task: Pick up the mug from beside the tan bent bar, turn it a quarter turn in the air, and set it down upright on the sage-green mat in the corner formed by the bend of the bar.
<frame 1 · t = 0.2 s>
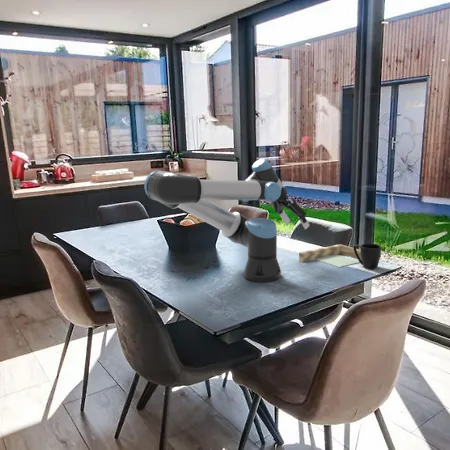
hand: (297, 224, 200), 16 cm above the table, tool tilted 35°, fingers open, 13 cm apart
tan bent bar: (334, 259, 197), on the table
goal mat: (337, 260, 195), on the table
mug: (366, 266, 186), on the table
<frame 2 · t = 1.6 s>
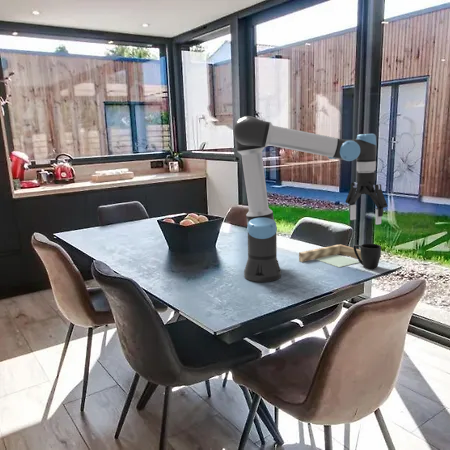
hand: (365, 221, 183), 19 cm above the table, tool pointing down, fingers open, 13 cm apart
nothing on the table moved.
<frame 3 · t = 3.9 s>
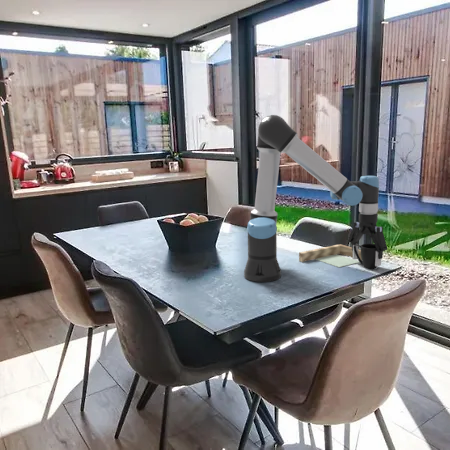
hand: (366, 262, 186), 2 cm above the table, tool pointing down, fingers closed on mug, 12 cm apart
mug: (366, 266, 186), on the table, touching gripper
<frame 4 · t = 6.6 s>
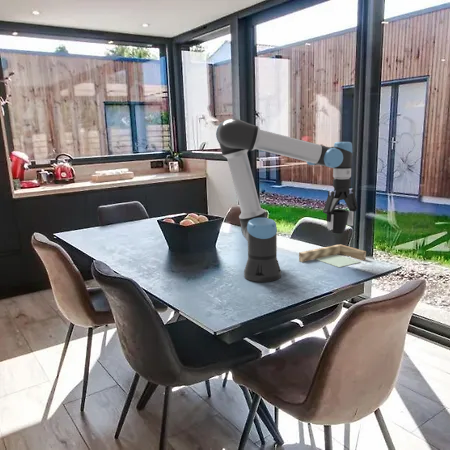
hand: (340, 227, 191), 16 cm above the table, tool pointing down, fingers closed on mug, 12 cm apart
mug: (340, 231, 191), point 14 cm above the table, touching gripper
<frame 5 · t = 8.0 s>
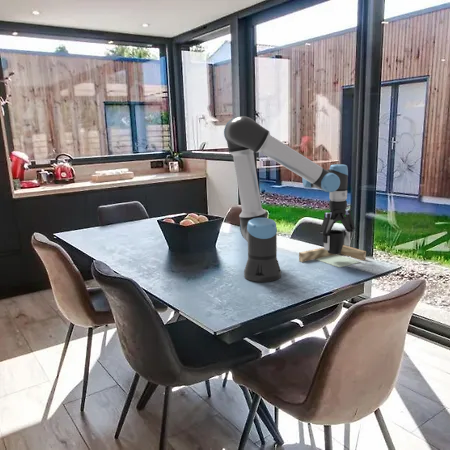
hand: (336, 247, 194), 6 cm above the table, tool pointing down, fingers closed on mug, 12 cm apart
mug: (336, 252, 194), point 4 cm above the table, touching gripper
when the fingers open (3 cm above the table, at t = 9.3 s): mug drops 1 cm, resting on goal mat.
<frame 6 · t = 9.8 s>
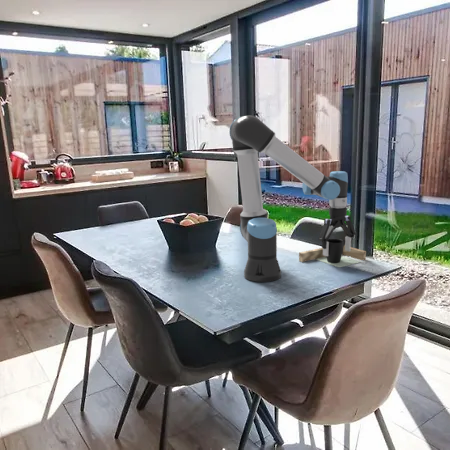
hand: (336, 253, 194), 4 cm above the table, tool pointing down, fingers open, 13 cm apart
mug: (336, 260, 195), resting on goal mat
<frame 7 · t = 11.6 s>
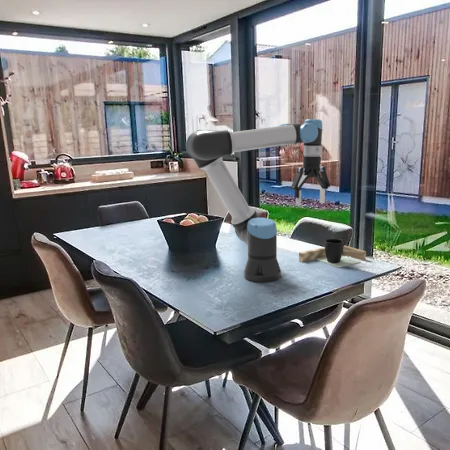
hand: (310, 204, 192), 26 cm above the table, tool pointing down, fingers open, 13 cm apart
nothing on the table moved.
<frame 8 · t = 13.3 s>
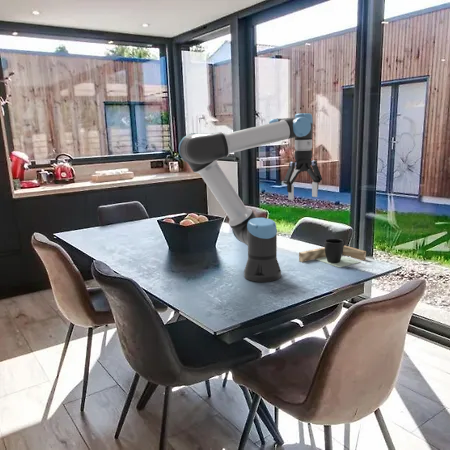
hand: (303, 198, 192), 29 cm above the table, tool pointing down, fingers open, 13 cm apart
nothing on the table moved.
at the end: mug inside the target area (0.3 cm from its centre), resting on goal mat; mug tilted 0°; the gripper is holding nothing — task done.
